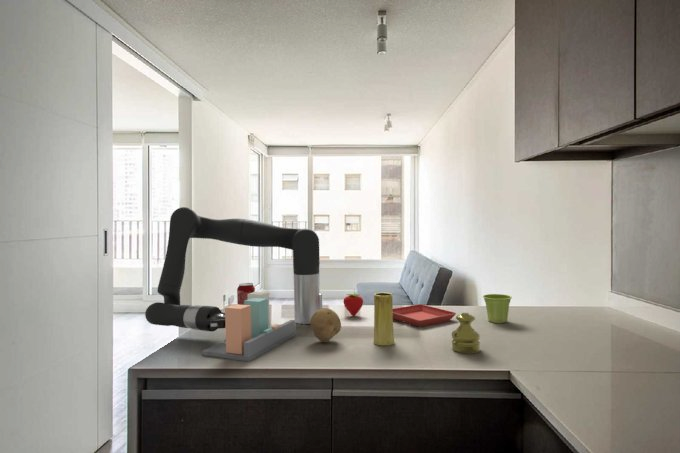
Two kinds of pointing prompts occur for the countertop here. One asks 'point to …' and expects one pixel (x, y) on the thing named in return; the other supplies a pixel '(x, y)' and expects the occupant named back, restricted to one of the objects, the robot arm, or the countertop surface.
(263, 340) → the grey divided tray
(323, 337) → the natural sponge
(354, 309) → the strawberry
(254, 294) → the key cream
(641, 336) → the countertop surface
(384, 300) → the vase
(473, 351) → the olive glossy tiered piece
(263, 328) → the key teal
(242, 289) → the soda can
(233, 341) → the key terracotta
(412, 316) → the plant saucer
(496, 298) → the plant pot
